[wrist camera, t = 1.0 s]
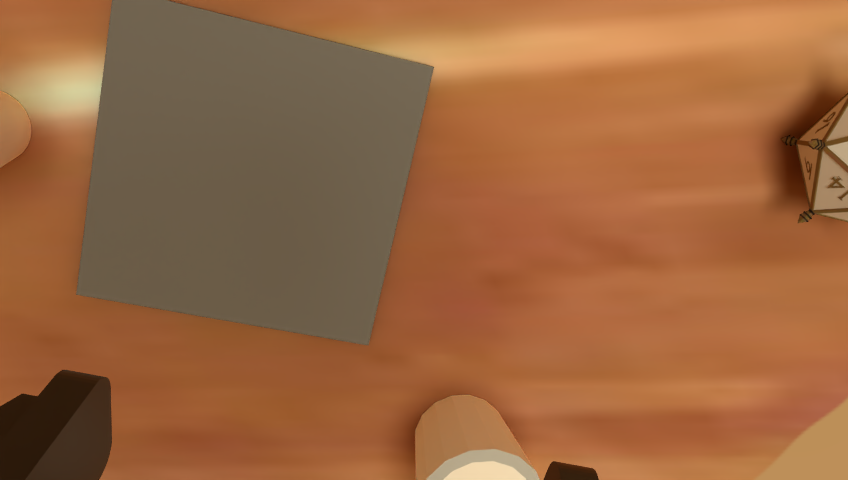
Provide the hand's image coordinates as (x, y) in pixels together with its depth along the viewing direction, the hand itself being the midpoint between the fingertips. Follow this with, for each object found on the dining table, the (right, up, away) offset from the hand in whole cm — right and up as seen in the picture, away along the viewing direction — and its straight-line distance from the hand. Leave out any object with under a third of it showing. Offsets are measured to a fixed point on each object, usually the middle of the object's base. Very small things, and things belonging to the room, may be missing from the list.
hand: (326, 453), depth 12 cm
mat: (-7, +7, +24) cm, 26 cm away
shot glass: (+4, -8, +30) cm, 31 cm away
